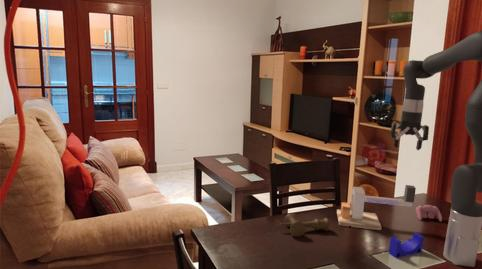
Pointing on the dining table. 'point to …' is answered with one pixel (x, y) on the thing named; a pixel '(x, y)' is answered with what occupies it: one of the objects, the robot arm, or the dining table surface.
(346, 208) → the block
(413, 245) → the cable clip
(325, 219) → the kendama
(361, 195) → the stand
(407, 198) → the shaft
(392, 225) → the dining table surface
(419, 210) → the video game controller
